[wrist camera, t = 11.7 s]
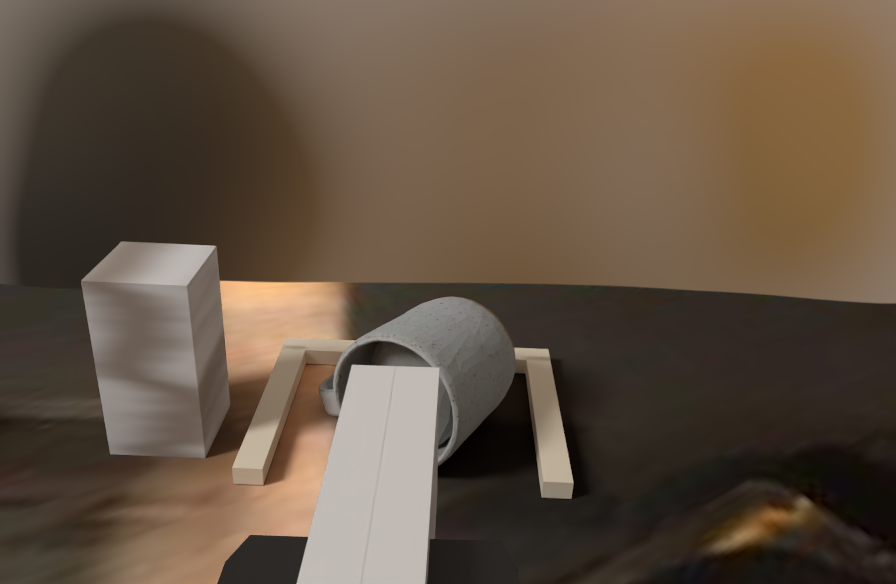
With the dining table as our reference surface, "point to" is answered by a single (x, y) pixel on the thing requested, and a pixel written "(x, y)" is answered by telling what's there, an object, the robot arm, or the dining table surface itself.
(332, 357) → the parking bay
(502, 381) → the ceramic mug
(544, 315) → the dining table surface
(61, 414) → the dining table surface
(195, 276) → the grey block
